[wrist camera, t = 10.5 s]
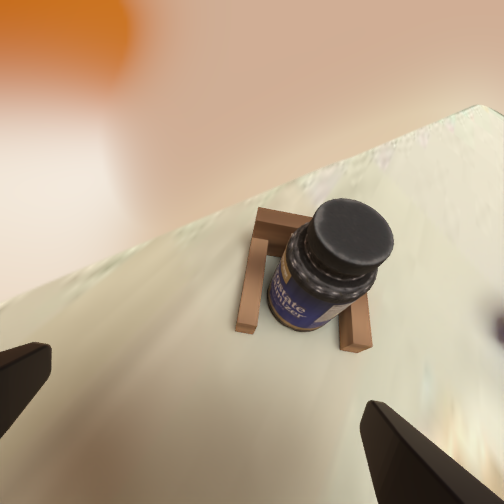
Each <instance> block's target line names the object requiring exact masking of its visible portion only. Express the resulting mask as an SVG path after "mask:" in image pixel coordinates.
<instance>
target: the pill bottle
mask: <svg viewBox="0 0 504 504" xmlns="http://www.w3.org/2000/svg"><path fill="white" fill-rule="evenodd" d="M393 245H394V239H393V234H392V231H391V229H390V227H389V225H388V223H387V222H386V220H385V219H384V218H383V217H382V216H381V215H380V214H379V213H378V212H377V211H376V210H374V209H373V208H371V207H370V206H368V205H366V204H363V203H362V202H359V201H356V200H351V199H344V198H340V199H333V200H329V201H327V202H325V203H324V204H322V205H321V206H320V207H319V208H318V209H317V211H316V212H315V214H314V216H313V218H312V219H311V221H310V222H307V223H305V224H304V225H301V227H299V228H298V229H297V230H296V231H295V232H294V233H293V235H292V236H291V238H290V240H289V242H288V244H287V247H286V249H285V251H284V253H283V256H282V258H281V260H280V262H279V264H278V266H277V269H276V271H275V273H274V275H273V278H272V280H271V282H270V285H269V287H268V291H267V295H268V303H269V306H270V309H271V311H272V313H273V314H274V316H275V317H276V318H277V319H278V321H280V322H281V323H282V324H283V325H285V326H287V327H291V328H292V329H294V330H296V331H303V332H307V331H313V330H316V329H318V328H320V327H322V326H324V325H325V324H326V323H327V322H329V321H330V320H331V319H332V318H334V317H335V316H336V315H338V314H339V313H340V312H342V311H343V310H344V309H346V308H347V307H348V306H349V305H351V304H352V303H353V302H355V301H356V300H357V299H359V298H360V297H361V296H363V295H364V294H365V293H367V291H368V290H370V288H371V287H372V285H373V284H374V281H375V280H376V276H377V271H378V267H379V266H380V265H381V264H382V263H383V262H384V261H385V260H386V259H387V258H388V257H389V256H390V254H391V252H392V250H393Z"/></svg>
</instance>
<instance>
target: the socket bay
mask: <svg viewBox="0 0 504 504" xmlns="http://www.w3.org/2000/svg"><path fill="white" fill-rule="evenodd" d="M312 218H313V217H307V216H302V215H297V214H292V213H287V212H281V211H276V210H271V209H266V208H261V207H258V211H257V216H256V221H255V225H254V230H253V235H252V240H251V245H250V251H249V256H248V262H247V268H246V273H245V279H244V285H243V290H242V296H241V302H240V307H239V313H238V319H237V324H236V330H235V331H237V332H243V333H248V334H253V333H254V331H255V329H256V327H257V322H258V315H259V307H260V300H261V292H262V285H263V277H264V270H265V262H266V255H270V256H276V257H281V258H282V256H283V253H284V251H285V249H286V247H287V244H288V242H289V240H290V238H291V236H292V235H293V233H294V232H295V231H296V230H297V229H298V228H299V227H301V225H304V224H305V223H307V222H310V221H311V219H312ZM339 334H340V350H343V351H349V352H355V353H359V352H361V351H363V350H366V349H368V348H371V347H373V345H372V336H371V326H370V317H369V308H368V298H367V293H365V294H364V295H363V296H361V297H360V298H359V299H357V300H356V301H355V302H353V303H352V304H351V305H349V306H348V307H347V308H346V309H344V310H343V311H342V312H340V313H339Z"/></svg>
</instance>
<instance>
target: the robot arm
mask: <svg viewBox="0 0 504 504" xmlns="http://www.w3.org/2000/svg"><path fill="white" fill-rule="evenodd" d="M51 359H52V348H51V346H50V345H49V344H44V343H39V342H32V343H28V344H25V345H22V346H19V347H15V348H12V349H9V350H5V351H2V352H0V439H1V438H2V436H3V435H4V434H5V433H6V431H7V430H8V429H9V428H10V427H11V425H12V424H13V423H14V422H15V420H16V419H17V418H18V416H19V415H20V414H21V413H22V411H23V410H24V409H25V407H26V406H27V405H28V404H29V402H30V401H31V400H32V399H33V397H34V396H35V395H36V393H37V392H38V391H39V390H40V388H41V387H42V386H43V385H44V383H45V382H46V381H47V379H48V378H49V376H50V373H51ZM360 434H361V438H362V442H363V446H364V450H365V454H366V458H367V462H368V466H369V470H370V474H371V478H372V482H373V486H374V490H375V494H376V497H377V501H378V504H504V501H503V500H502V499H501V498H499V497H498V496H497V495H496V494H495V493H493V492H492V491H491V490H490V489H489V488H487V487H486V486H485V485H484V484H482V483H481V482H480V481H479V480H478V479H476V478H475V477H474V476H473V475H472V474H470V473H469V472H468V471H467V470H465V469H464V468H463V467H462V466H461V465H459V464H458V463H457V462H456V461H455V460H453V459H452V458H451V457H450V456H448V455H447V454H446V453H445V452H444V451H442V450H441V449H440V448H439V447H438V446H436V445H435V444H434V443H433V442H432V441H430V440H429V439H428V438H427V437H425V436H424V435H423V434H422V433H421V432H419V431H418V430H417V429H416V428H415V427H413V426H412V425H411V424H410V423H408V422H407V421H406V420H405V419H404V418H402V417H401V416H400V415H399V414H398V413H396V412H395V411H394V410H393V409H392V408H390V407H389V406H388V405H387V404H385V403H384V402H379V401H374V400H370V401H368V402H367V404H366V407H365V410H364V413H363V416H362V419H361V422H360Z"/></svg>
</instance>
